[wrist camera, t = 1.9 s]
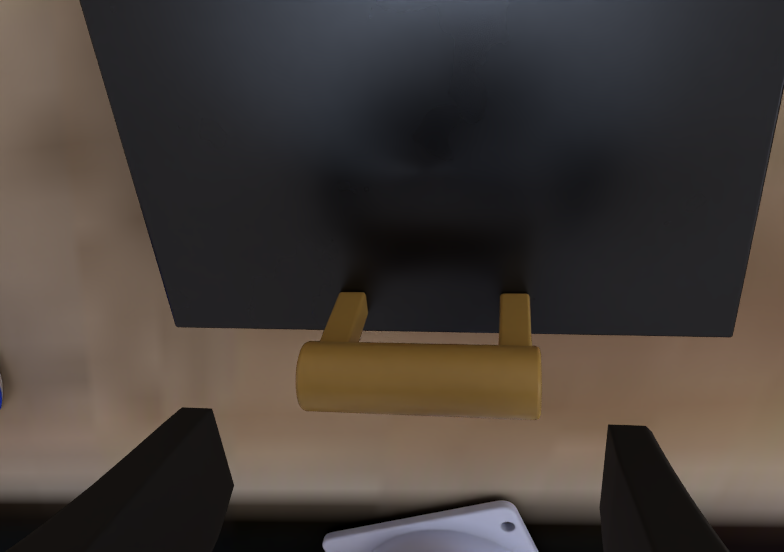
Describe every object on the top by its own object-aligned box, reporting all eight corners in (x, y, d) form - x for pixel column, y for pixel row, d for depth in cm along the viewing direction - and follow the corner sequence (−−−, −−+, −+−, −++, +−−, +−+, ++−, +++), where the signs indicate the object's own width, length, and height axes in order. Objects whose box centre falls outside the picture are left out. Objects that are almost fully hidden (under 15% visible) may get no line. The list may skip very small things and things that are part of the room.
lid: (726, 324, 17) (787, 452, 13) (184, 315, 19) (106, 421, 15) (806, -82, 12) (933, -60, 9) (86, -25, 15) (-55, 11, 11)
